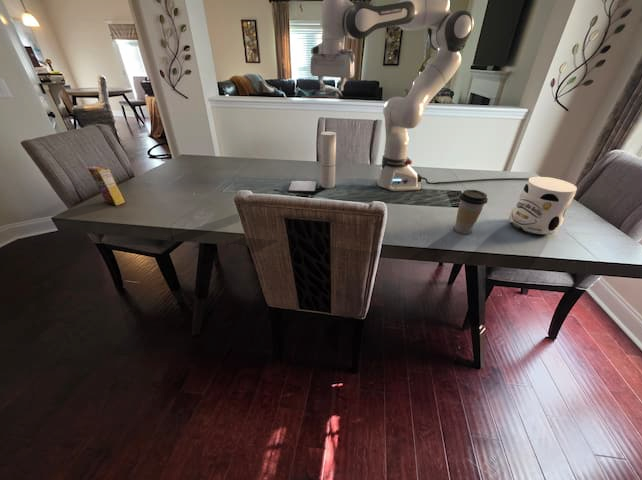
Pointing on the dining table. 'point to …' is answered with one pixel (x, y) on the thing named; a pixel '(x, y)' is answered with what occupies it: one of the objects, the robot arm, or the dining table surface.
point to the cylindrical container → (328, 159)
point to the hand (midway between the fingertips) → (331, 89)
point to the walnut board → (302, 187)
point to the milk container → (542, 205)
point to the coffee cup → (469, 210)
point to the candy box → (106, 185)
